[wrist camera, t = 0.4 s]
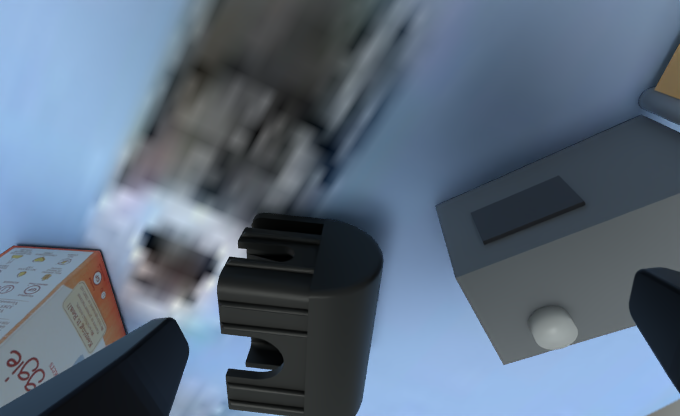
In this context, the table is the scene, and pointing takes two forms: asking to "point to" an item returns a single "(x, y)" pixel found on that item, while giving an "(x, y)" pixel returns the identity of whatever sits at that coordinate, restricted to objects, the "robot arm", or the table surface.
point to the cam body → (567, 238)
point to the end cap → (301, 315)
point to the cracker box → (51, 314)
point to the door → (665, 92)
